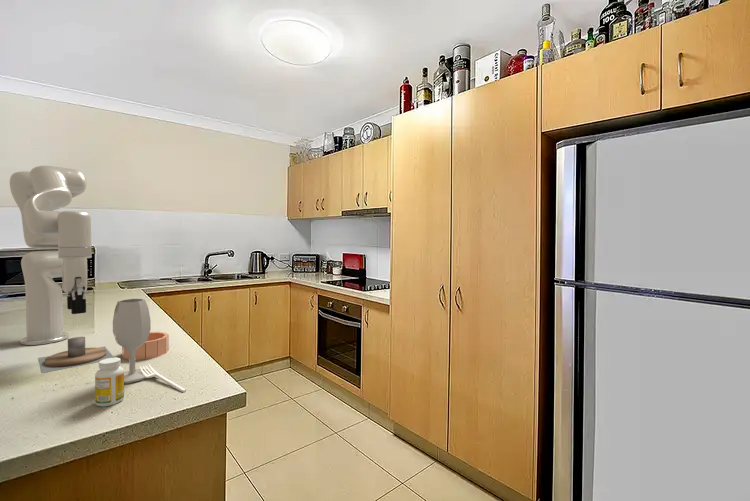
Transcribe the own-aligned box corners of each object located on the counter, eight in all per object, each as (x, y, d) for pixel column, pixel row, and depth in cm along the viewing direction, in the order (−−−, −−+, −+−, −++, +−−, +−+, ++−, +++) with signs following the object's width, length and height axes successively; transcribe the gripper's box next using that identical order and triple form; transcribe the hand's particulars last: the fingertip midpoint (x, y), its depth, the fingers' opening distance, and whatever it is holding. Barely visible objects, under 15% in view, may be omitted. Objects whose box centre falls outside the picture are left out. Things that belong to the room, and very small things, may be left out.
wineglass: (158, 375, 97) (158, 299, 96) (125, 387, 89) (124, 304, 88) (138, 369, 101) (137, 296, 100) (104, 380, 93) (103, 301, 92)
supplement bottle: (98, 409, 78) (98, 366, 77) (92, 401, 81) (91, 360, 81) (127, 401, 82) (127, 360, 81) (120, 394, 85) (120, 354, 85)
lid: (43, 358, 105) (42, 338, 105) (101, 347, 116) (101, 329, 115) (46, 371, 96) (46, 349, 96) (110, 358, 106) (110, 339, 106)
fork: (177, 395, 86) (178, 388, 86) (137, 373, 96) (137, 366, 96) (191, 391, 88) (191, 383, 88) (150, 369, 99) (150, 363, 99)
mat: (38, 361, 106) (38, 357, 105) (105, 349, 117) (105, 346, 117) (42, 376, 94) (41, 373, 94) (115, 362, 106) (115, 358, 106)
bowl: (118, 355, 112) (118, 336, 111) (161, 347, 120) (161, 329, 120) (128, 365, 103) (127, 345, 103) (173, 356, 112) (173, 337, 112)
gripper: (55, 252, 108) (56, 308, 108) (61, 254, 96) (62, 317, 96) (86, 252, 113) (88, 305, 113) (96, 253, 101) (97, 313, 102)
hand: (76, 310), depth 105 cm, fingers open, 9 cm apart
